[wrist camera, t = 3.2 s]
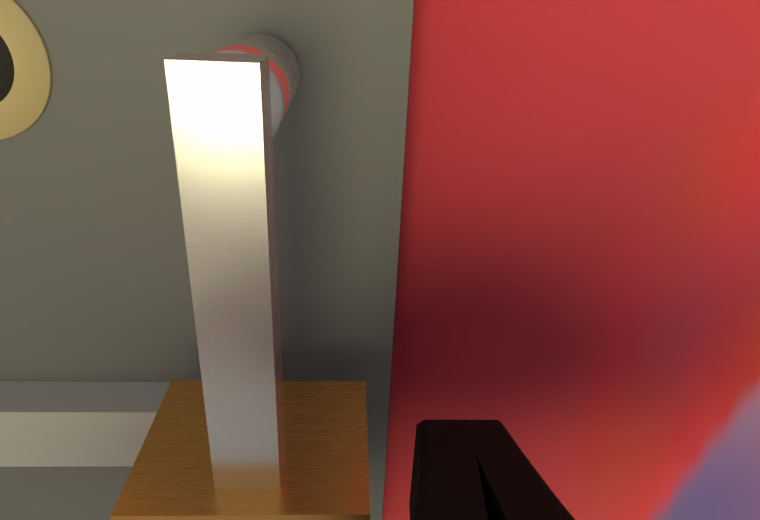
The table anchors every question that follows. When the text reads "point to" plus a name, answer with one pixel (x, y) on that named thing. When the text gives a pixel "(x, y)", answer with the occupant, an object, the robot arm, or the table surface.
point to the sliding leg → (242, 323)
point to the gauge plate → (179, 226)
